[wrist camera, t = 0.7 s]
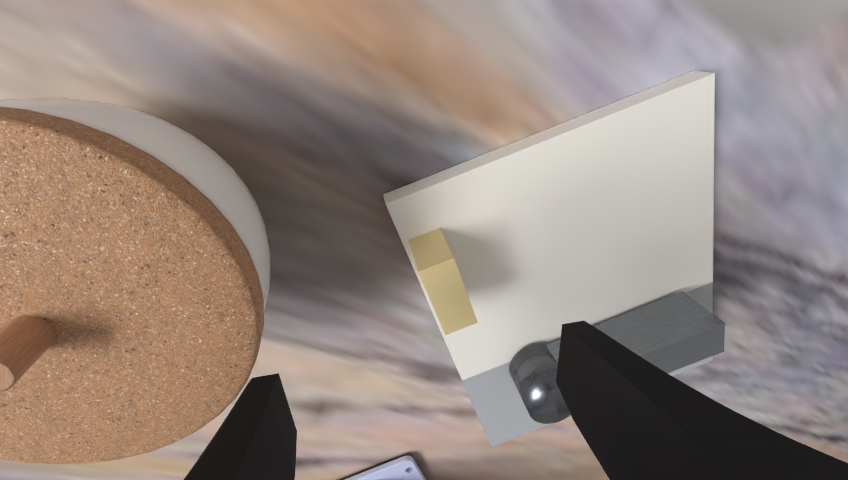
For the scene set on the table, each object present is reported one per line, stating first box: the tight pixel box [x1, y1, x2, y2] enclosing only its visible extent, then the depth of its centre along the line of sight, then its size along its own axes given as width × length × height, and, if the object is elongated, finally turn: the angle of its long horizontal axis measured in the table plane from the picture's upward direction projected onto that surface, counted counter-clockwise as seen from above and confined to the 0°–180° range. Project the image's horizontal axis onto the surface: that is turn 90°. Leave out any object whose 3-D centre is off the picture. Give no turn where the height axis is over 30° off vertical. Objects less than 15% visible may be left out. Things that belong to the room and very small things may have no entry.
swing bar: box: [509, 291, 725, 424], centre depth 22 cm, size 10×3×3 cm, turn 109°
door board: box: [383, 71, 715, 447], centre depth 21 cm, size 18×15×4 cm
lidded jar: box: [0, 98, 270, 464], centre depth 13 cm, size 11×11×9 cm
